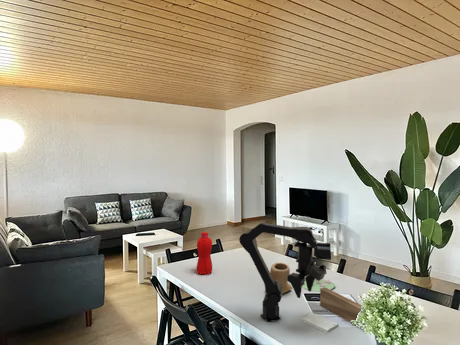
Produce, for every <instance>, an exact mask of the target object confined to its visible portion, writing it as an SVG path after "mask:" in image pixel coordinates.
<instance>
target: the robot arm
mask: <svg viewBox="0 0 460 345" xmlns="http://www.w3.org/2000/svg"><path fill="white" fill-rule="evenodd" d="M264 233H265V234H271V235H277V236H281V237H285V238H286V237H287V238H291V239H293V240H295V241H296V242H294V243H293V247H295V248H298V249H297V250H298V251H297V259H296V260H295V262H296V263H297V268H296V269H295V272H291V273H290V274H289V275H288V276H287V282H288V284H290V285H291V286H292V289H293V291H294V293H295V296H296V297H297V298H298V299H300V298H301V295H302V288H303V287H302V286H303V285H304V284H305V283H304V282H305V279H306V284H307V288H308V290H307V291H308V292H312V291H311V289H312V286H313V283H314V281H315V279H316V280H318V281H320V280H321V279H322V280H324V277H325V275H327V266H326V265H325V264H321V265H316V262H315V260H314V259H313V257H315V258H316V259H317V260H322V261H323V260H324V261H325V260H326V261H331V260H332V251H331V249H332V248H331V246H332V245H331V243H330V242H318V241H317V239H316V238H315V236H314V235H313V234H314V233H313V231H312V229H311V228H310V227H309V226H292V227H291V226H285V225H280V224H272V223H266V222H264V221H262V222H259V223H258V224H257V225H256V226H255V227H253V228H252V229H250V230H245V231H244V232H243V233H242V234H241V235H240V236H239V241H238V242H239V243H240V245H241V246H242V248H243V249H244V250H245V251H246V252H247V253H248V255H249V256H250V258H251V260H252V261H253V264H254V266H255V268H256V270H257V272H258V273H259V276H260V278H261V279H262V282H263V284H264V290H265V294H264V297H263V300H262V314H260V317H261V318H263V319H264V320H265V322H267V323H271V322H274V321H275V322H276V321H279V320H281V316H280V306H279V303H280V302H281V300H282V297H283V294H284V293H283V290H282V289H283V287H282V286H281V285H280V282H279V280H277V281H275V280H274V279H273V277H272V276H271V274H270V270H269V268H268V266H267V264H266V262H265V260H264V258H263V256H262V253H261V252H260V250H259V247H258V243H257V237H260V235H261V234H264ZM282 293H283V294H282Z"/></svg>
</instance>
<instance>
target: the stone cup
mask: <svg viewBox="0 0 460 345" xmlns="http://www.w3.org/2000/svg"><path fill="white" fill-rule="evenodd" d="M290 269H291V268H290V267H289V265H288V264H286V263H285V262H275V263H274V264H272V265H271V266H270V270H269V272H270V274H271V276H272V277H273V279H274V280H275V281H277V280H279V282H280V285H281V286H282V287H283V289H282V290H283V293H282V295H283V294H285V293H286V292H289V291H291V290H292V289H293V287H292V285H291V283H289V282H288V281H287V276H288V275H290V274H291V273H290V272H291V271H290Z"/></svg>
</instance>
